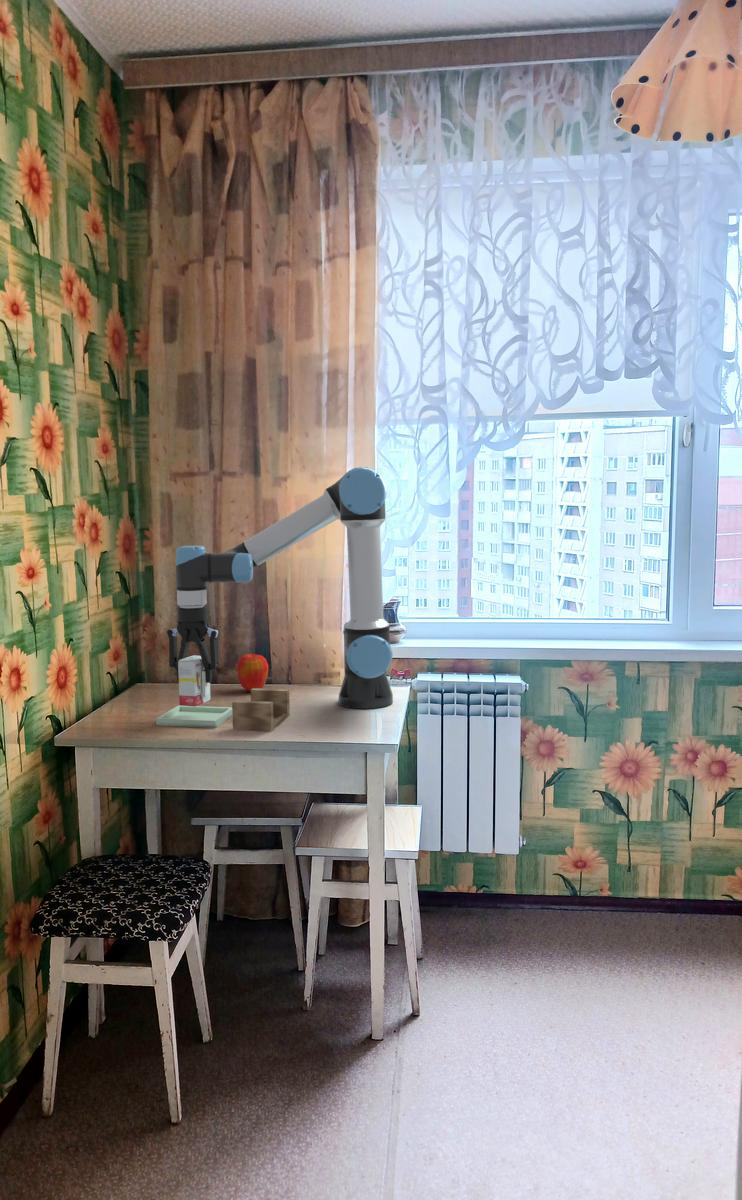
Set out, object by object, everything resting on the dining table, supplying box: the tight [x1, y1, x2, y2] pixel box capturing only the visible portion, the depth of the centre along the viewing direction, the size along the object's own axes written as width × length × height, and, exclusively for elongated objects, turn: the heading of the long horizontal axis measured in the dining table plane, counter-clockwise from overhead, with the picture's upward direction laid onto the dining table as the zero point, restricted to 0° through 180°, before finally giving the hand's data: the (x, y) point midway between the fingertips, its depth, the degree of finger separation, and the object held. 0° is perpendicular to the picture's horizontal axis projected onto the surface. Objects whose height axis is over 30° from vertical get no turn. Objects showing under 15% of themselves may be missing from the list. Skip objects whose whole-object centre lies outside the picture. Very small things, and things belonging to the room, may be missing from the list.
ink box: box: [178, 654, 211, 707], centre depth 237 cm, size 9×5×12 cm, turn 161°
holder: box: [231, 688, 291, 732], centre depth 235 cm, size 10×16×7 cm, turn 168°
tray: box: [155, 705, 233, 729], centre depth 239 cm, size 16×14×2 cm
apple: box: [236, 652, 269, 693], centre depth 270 cm, size 9×9×12 cm
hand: (195, 694), depth 238 cm, fingers closed on ink box, 5 cm apart
